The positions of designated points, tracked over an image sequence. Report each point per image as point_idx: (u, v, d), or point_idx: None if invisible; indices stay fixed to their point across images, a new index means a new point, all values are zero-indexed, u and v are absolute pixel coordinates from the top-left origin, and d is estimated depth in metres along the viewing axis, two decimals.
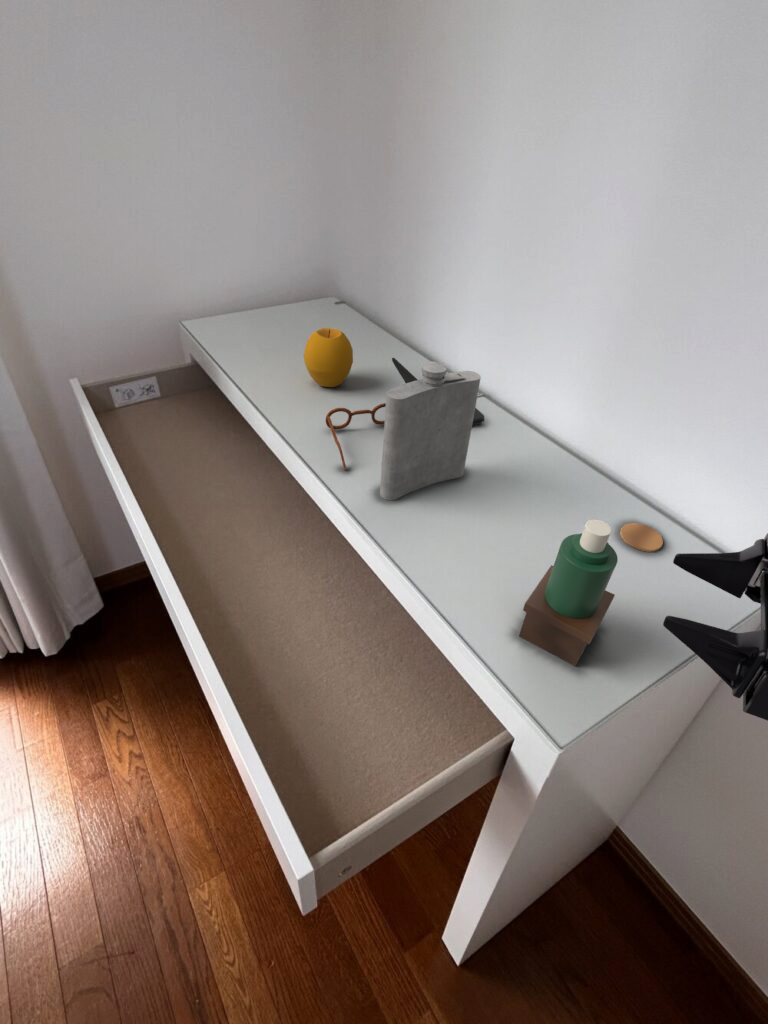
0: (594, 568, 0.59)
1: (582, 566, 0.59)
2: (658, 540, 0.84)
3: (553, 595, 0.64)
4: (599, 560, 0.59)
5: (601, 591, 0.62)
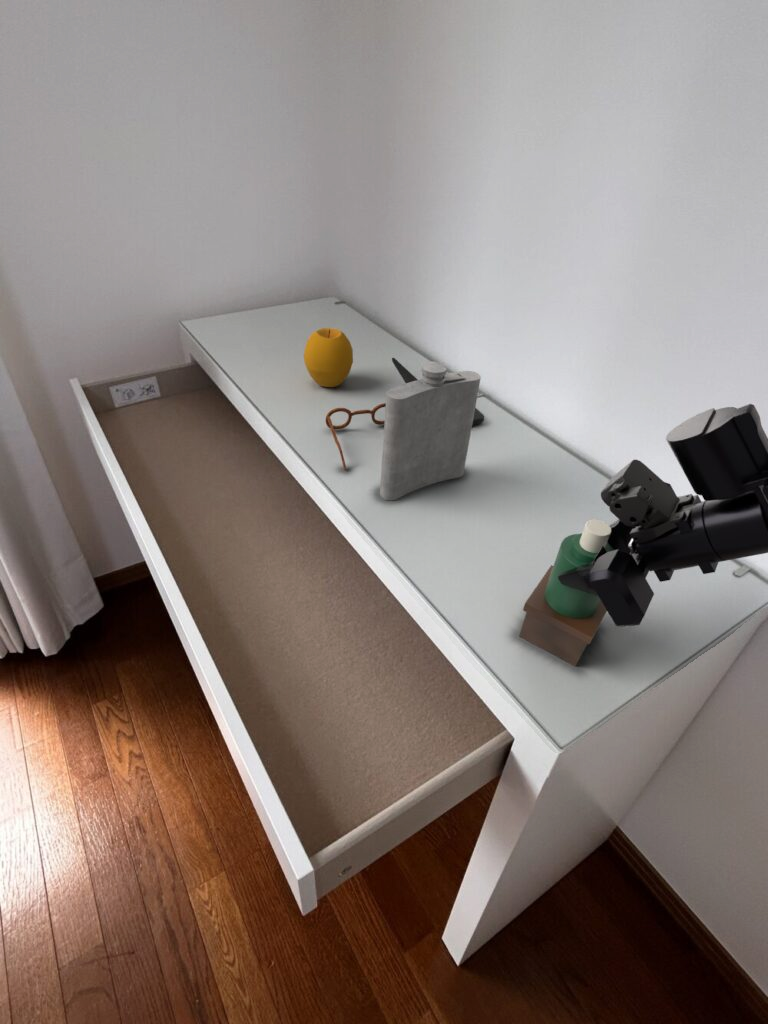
0: None
1: None
2: None
3: (553, 595, 0.64)
4: None
5: None
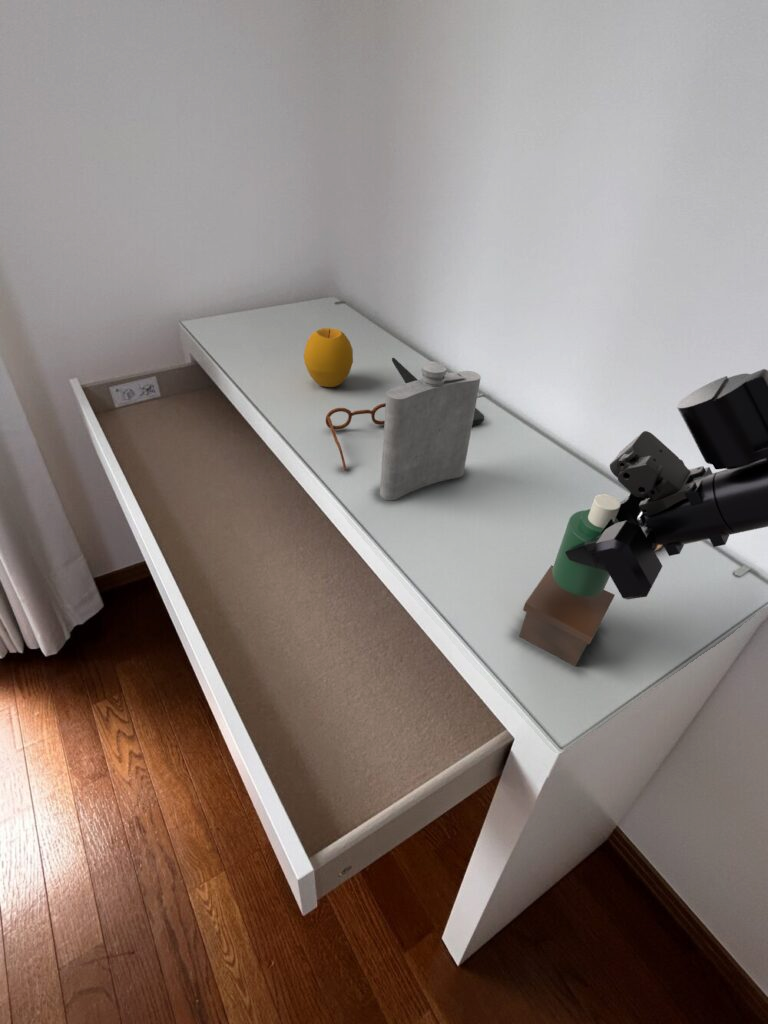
0: None
1: None
2: None
3: (561, 571, 0.63)
4: None
5: None
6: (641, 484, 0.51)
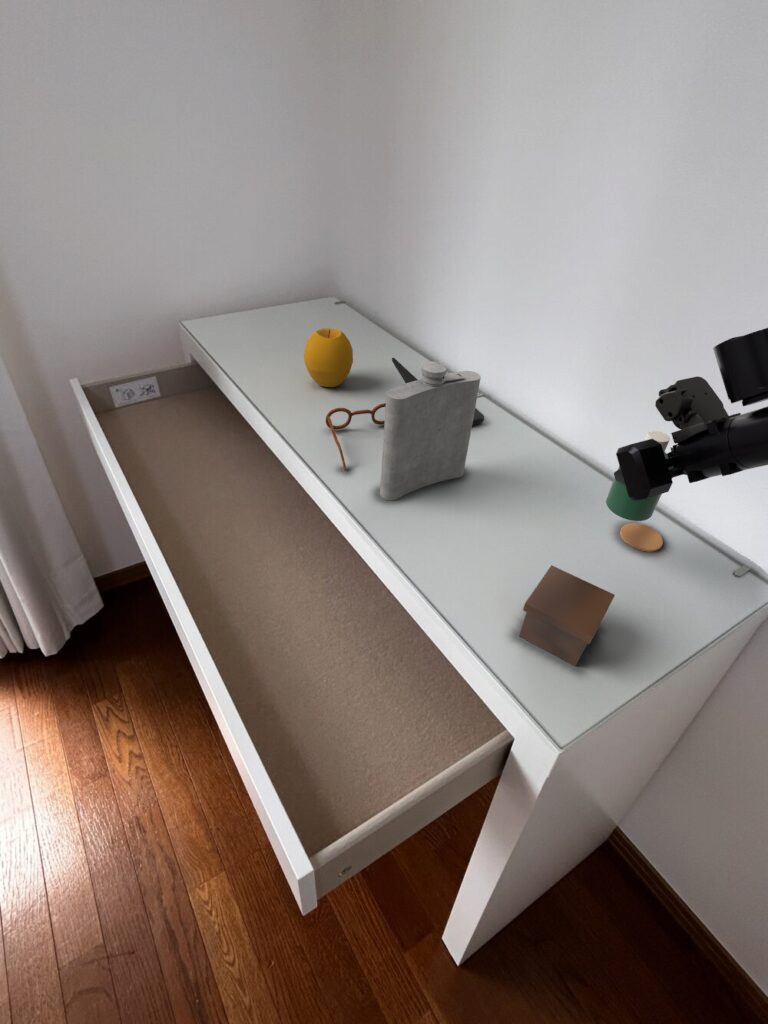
0: None
1: None
2: (658, 540, 0.84)
3: (610, 493, 0.75)
4: None
5: None
6: (670, 409, 0.62)
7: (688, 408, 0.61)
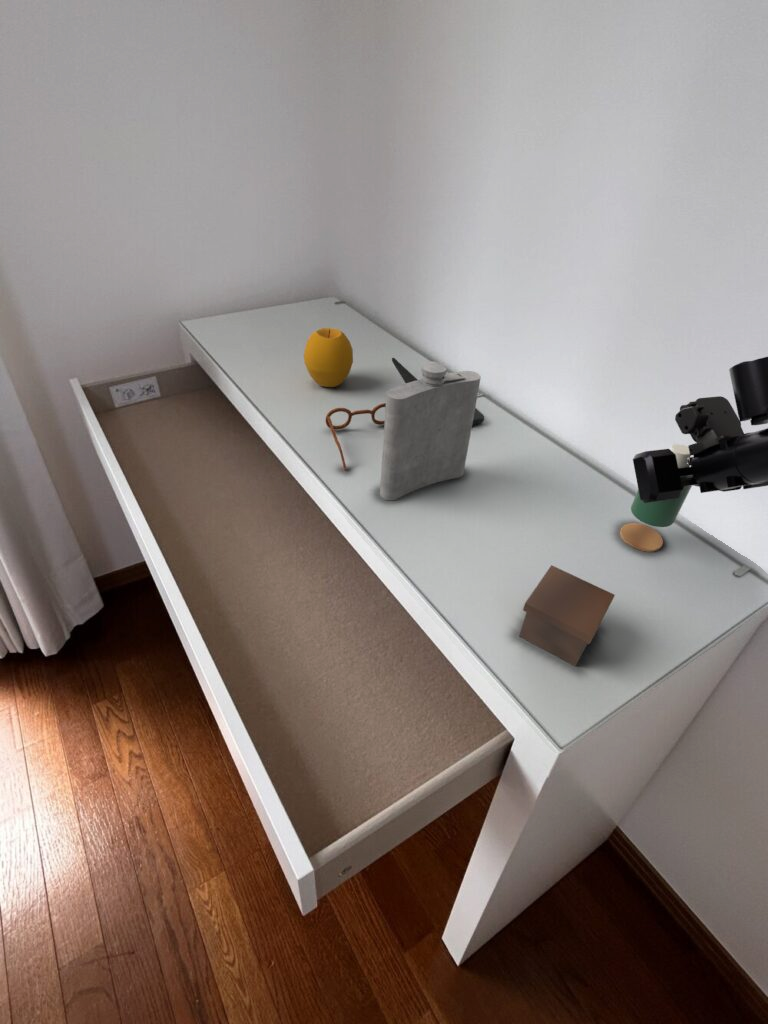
0: None
1: None
2: (658, 540, 0.84)
3: (635, 499, 0.81)
4: None
5: (668, 504, 0.77)
6: (686, 423, 0.68)
7: (704, 423, 0.67)
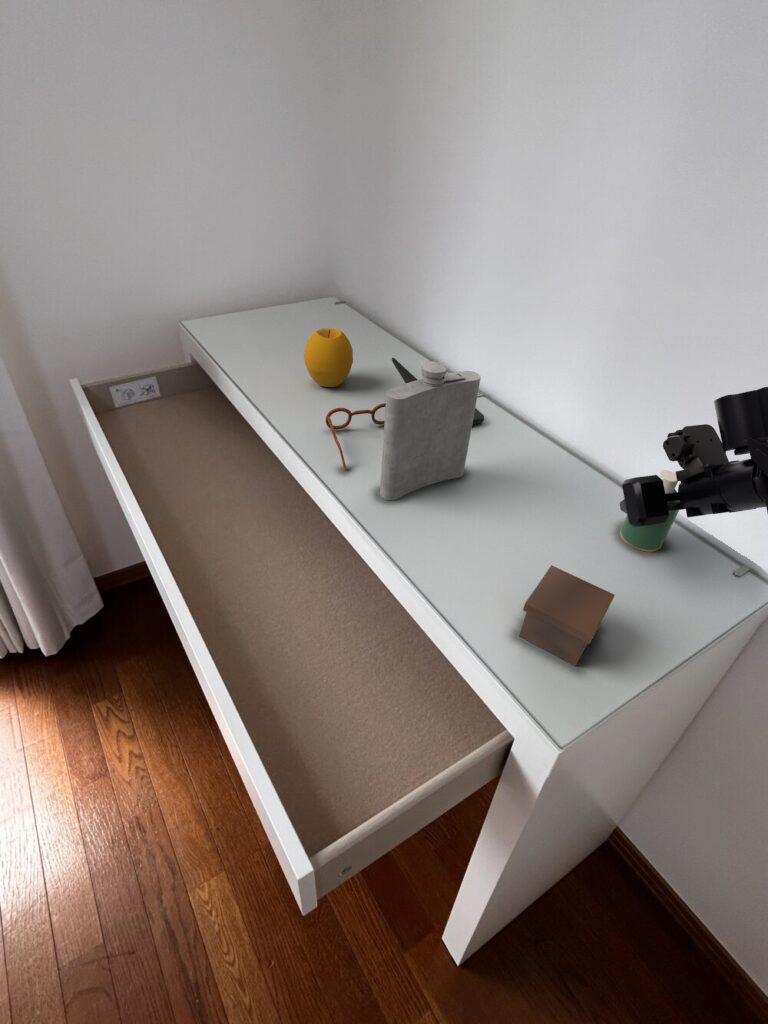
0: None
1: None
2: None
3: (624, 522, 0.84)
4: None
5: (656, 528, 0.80)
6: (673, 451, 0.70)
7: (690, 451, 0.70)
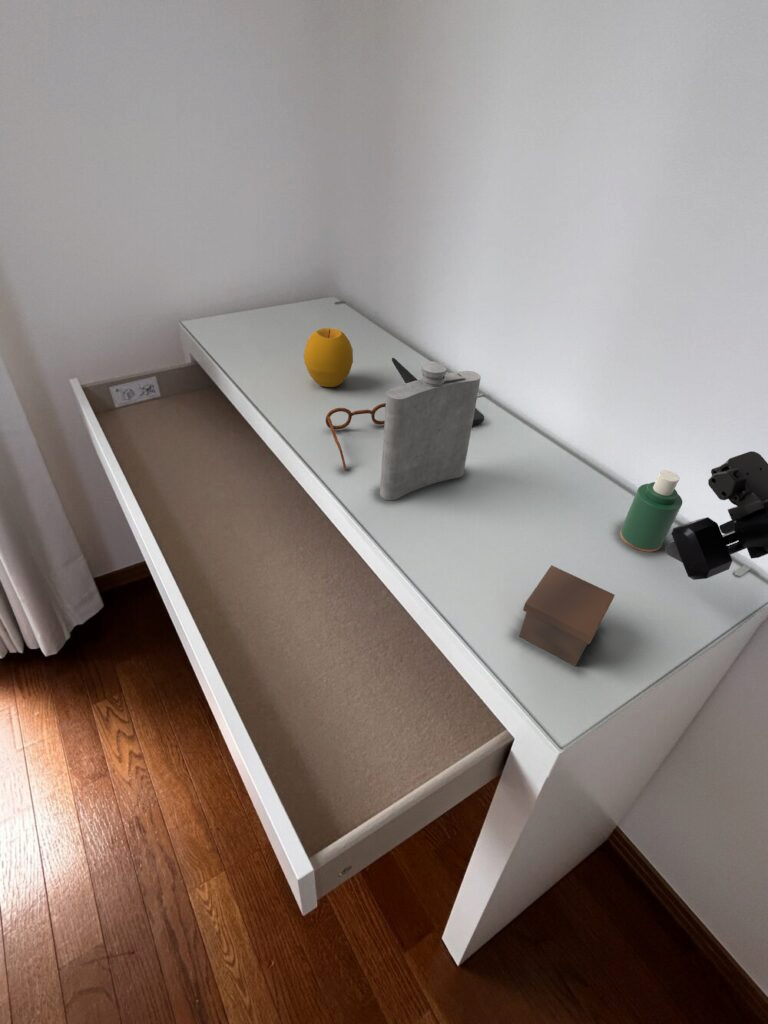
0: (653, 503, 0.78)
1: (644, 499, 0.79)
2: None
3: (624, 522, 0.84)
4: (659, 499, 0.78)
5: (656, 528, 0.80)
6: (723, 489, 0.62)
7: (742, 487, 0.62)
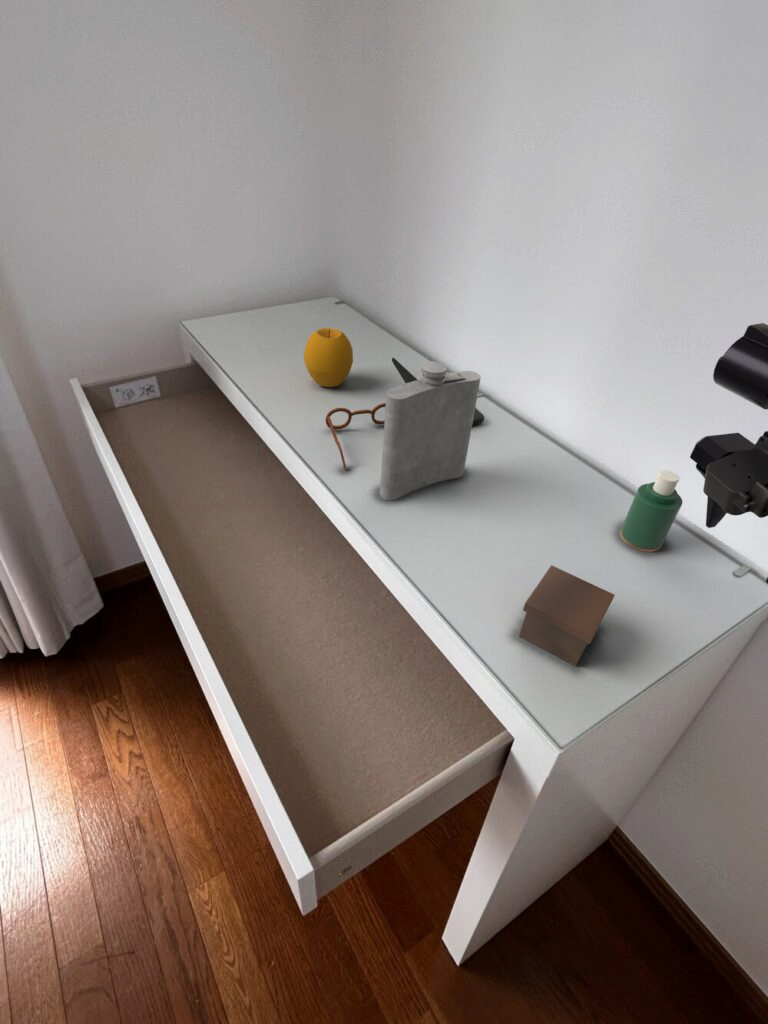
0: (653, 503, 0.78)
1: (644, 499, 0.79)
2: None
3: (624, 522, 0.84)
4: (659, 499, 0.78)
5: (656, 528, 0.80)
6: None
7: None
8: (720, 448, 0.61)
